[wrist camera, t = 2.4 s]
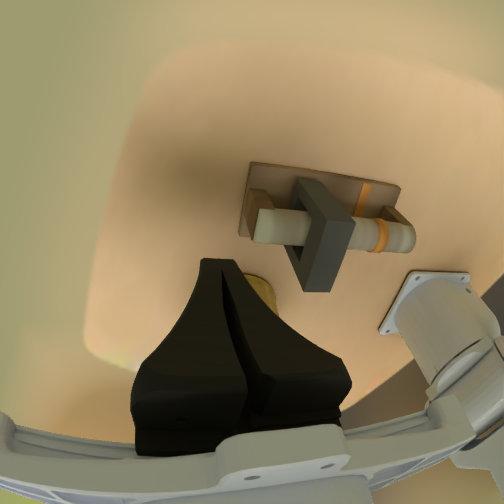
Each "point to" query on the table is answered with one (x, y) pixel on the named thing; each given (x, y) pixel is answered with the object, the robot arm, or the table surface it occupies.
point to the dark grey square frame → (319, 236)
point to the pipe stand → (298, 222)
